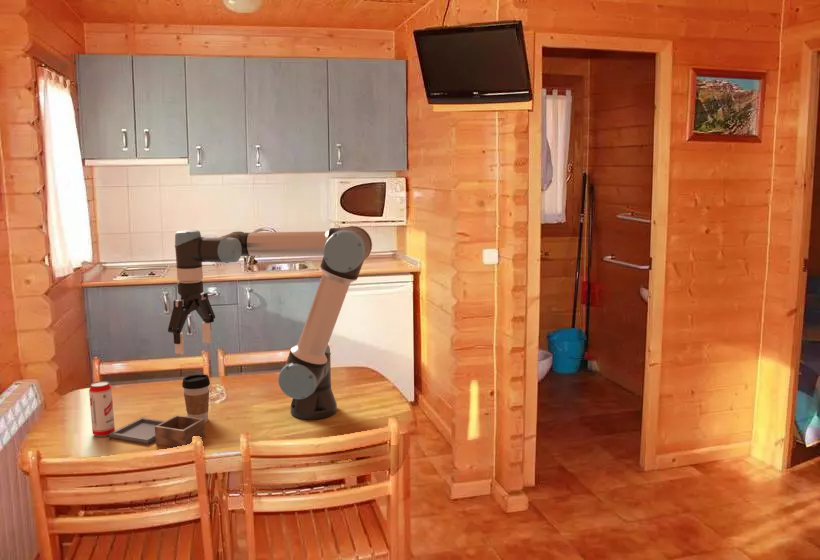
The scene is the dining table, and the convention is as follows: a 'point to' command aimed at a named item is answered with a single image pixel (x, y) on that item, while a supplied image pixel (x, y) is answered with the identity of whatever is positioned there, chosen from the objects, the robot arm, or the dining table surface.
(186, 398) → the coffee cup
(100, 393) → the beer can
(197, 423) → the walnut crate
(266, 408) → the dining table surface
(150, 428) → the slate tray
